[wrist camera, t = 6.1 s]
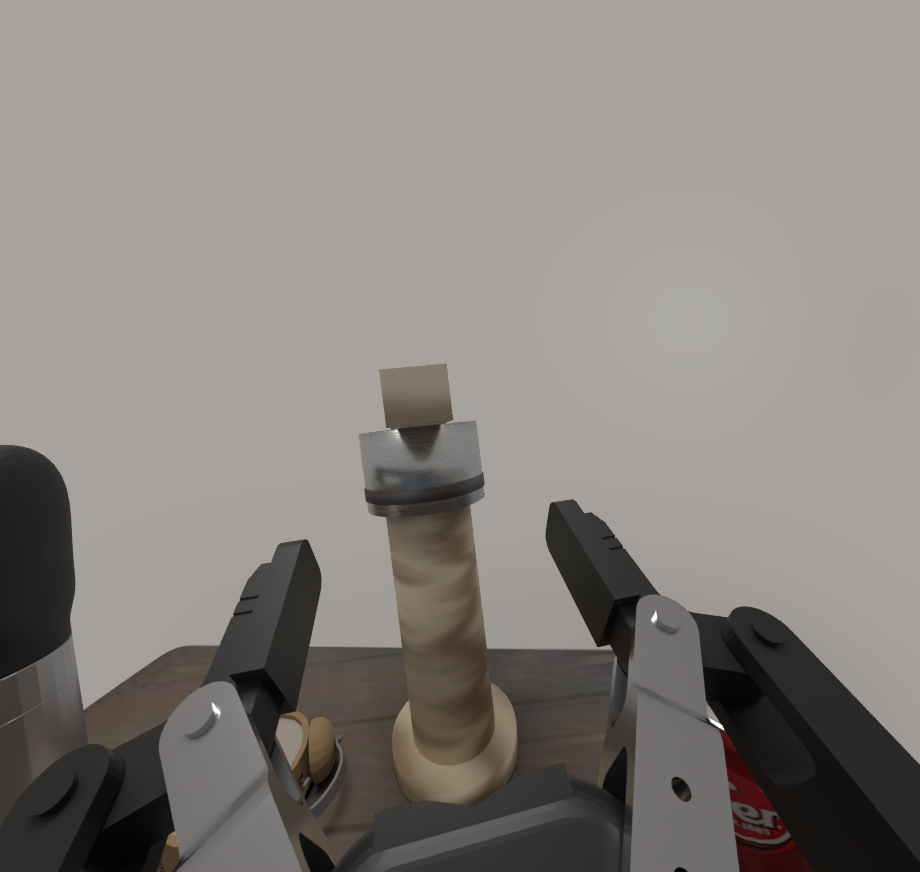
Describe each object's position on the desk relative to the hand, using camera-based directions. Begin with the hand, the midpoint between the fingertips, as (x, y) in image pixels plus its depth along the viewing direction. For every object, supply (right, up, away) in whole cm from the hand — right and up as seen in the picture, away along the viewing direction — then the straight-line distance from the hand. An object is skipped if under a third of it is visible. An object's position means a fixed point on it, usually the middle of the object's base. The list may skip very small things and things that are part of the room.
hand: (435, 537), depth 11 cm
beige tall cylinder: (+1, -27, +21) cm, 34 cm away
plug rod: (-2, +4, +15) cm, 16 cm away
